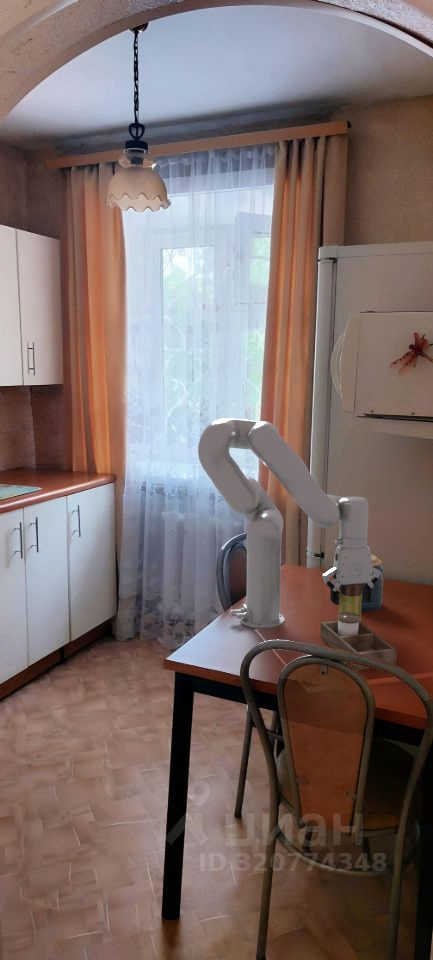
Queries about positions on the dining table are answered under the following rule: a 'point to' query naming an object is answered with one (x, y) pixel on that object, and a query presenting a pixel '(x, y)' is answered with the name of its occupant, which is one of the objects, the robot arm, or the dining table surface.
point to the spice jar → (348, 624)
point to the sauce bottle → (350, 599)
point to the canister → (374, 589)
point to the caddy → (358, 642)
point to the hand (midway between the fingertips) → (350, 601)
